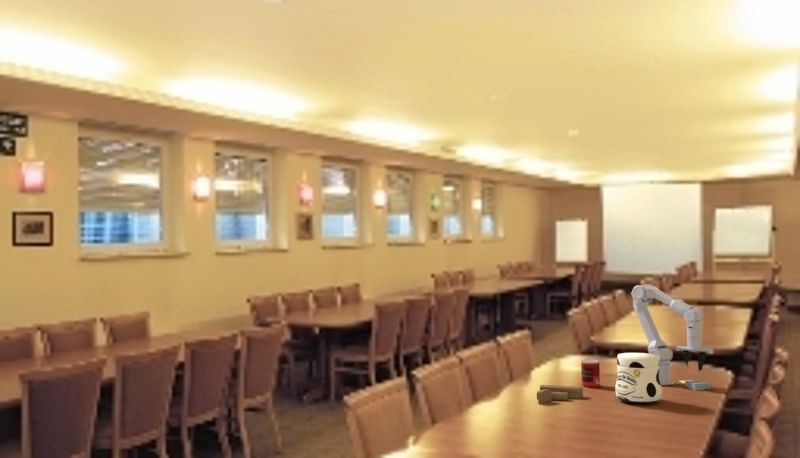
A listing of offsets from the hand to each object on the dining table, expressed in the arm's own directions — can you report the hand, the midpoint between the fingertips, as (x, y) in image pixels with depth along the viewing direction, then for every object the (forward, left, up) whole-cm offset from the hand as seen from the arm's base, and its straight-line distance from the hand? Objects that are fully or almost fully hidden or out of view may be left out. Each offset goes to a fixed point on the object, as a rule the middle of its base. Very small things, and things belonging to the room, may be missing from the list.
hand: (694, 369), depth 297 cm
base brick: (+2, +2, -9) cm, 9 cm away
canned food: (-40, +15, -9) cm, 44 cm away
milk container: (-33, -16, -9) cm, 38 cm away
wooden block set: (-62, -8, -9) cm, 64 cm away
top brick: (0, 0, -2) cm, 2 cm away
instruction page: (+5, +12, -8) cm, 15 cm away
